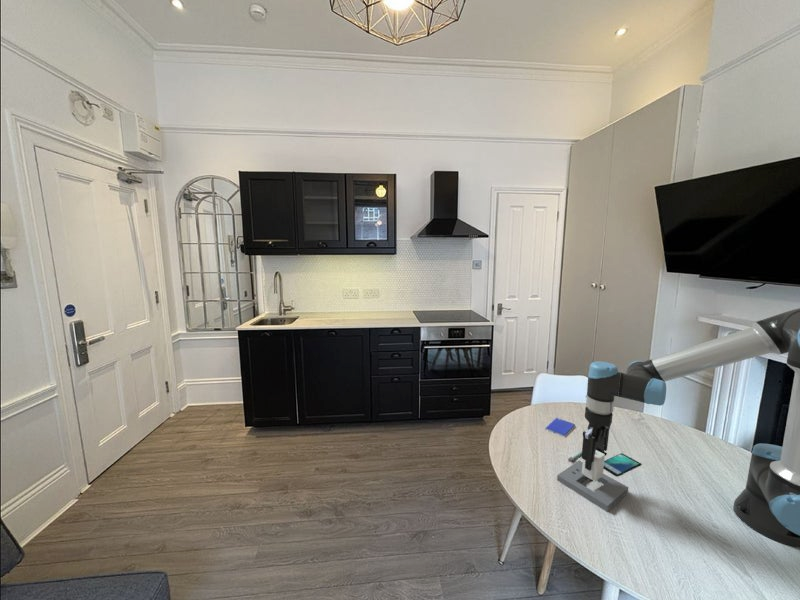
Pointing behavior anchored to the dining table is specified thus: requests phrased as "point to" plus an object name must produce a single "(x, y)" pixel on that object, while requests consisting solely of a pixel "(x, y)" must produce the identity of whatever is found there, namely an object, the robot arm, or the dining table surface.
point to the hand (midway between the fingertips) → (592, 473)
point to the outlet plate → (601, 497)
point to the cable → (574, 457)
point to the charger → (597, 465)
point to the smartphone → (620, 464)
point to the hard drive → (560, 427)
